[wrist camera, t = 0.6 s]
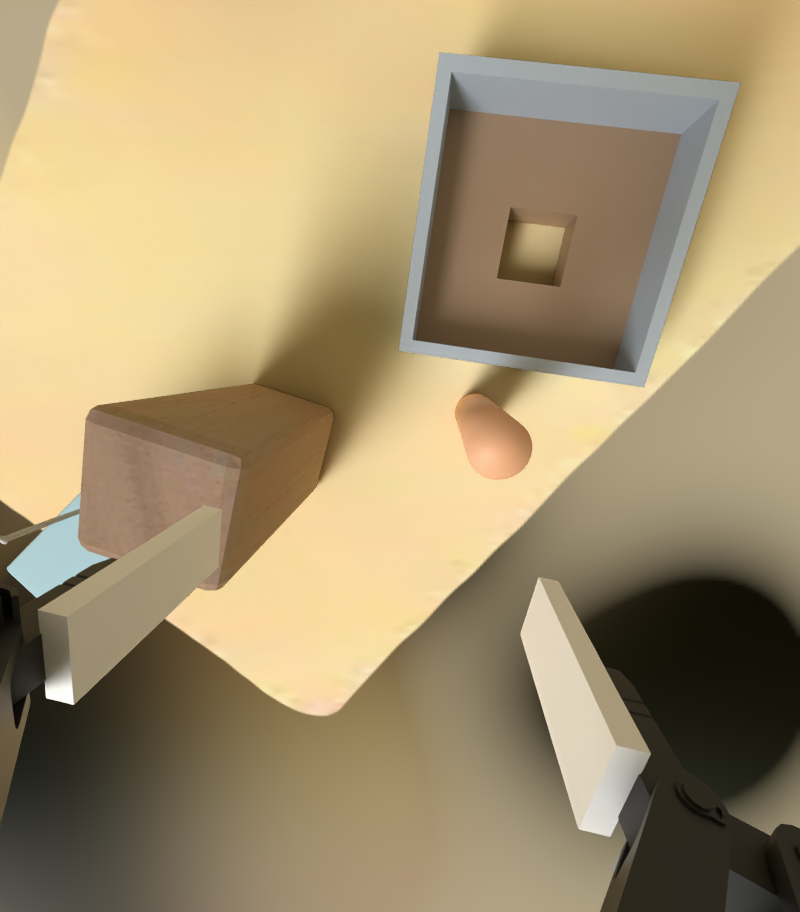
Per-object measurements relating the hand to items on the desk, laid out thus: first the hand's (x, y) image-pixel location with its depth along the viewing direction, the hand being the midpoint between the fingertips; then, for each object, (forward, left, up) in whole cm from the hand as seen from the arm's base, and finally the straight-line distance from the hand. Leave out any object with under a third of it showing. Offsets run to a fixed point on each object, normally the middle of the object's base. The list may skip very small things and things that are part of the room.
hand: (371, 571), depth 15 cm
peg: (-4, +6, -26) cm, 27 cm away
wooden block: (+2, -14, -26) cm, 30 cm away
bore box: (-19, +8, -26) cm, 33 cm away
